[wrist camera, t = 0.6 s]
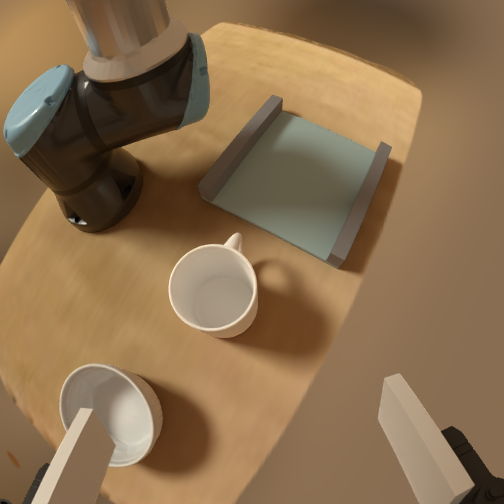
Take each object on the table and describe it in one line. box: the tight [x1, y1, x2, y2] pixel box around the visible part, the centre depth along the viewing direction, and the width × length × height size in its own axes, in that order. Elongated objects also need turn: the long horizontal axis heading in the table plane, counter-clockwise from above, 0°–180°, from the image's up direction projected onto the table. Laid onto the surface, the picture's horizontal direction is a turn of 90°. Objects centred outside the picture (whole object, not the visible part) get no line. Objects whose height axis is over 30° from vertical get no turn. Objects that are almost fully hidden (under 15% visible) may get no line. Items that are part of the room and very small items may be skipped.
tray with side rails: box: [197, 95, 392, 269], centre depth 43 cm, size 22×22×4 cm
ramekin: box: [60, 363, 163, 468], centre depth 30 cm, size 13×13×7 cm
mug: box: [169, 233, 258, 338], centre depth 34 cm, size 9×12×11 cm
